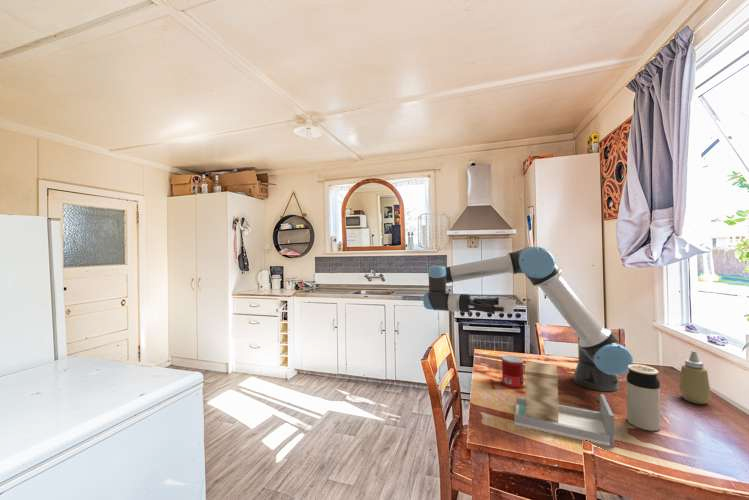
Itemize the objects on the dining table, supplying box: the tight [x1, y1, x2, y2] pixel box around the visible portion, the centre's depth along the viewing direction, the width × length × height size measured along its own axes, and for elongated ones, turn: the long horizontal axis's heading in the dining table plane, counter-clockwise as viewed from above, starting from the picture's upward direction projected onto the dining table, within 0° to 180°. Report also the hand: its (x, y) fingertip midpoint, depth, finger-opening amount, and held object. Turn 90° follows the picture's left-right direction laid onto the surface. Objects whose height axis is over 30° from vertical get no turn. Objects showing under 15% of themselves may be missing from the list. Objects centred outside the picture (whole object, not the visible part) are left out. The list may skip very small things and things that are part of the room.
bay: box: [513, 393, 615, 448], centre depth 100 cm, size 26×14×9 cm, turn 63°
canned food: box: [501, 354, 524, 389], centre depth 128 cm, size 8×8×11 cm
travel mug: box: [626, 363, 661, 432], centre depth 98 cm, size 8×8×18 cm
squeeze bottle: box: [678, 350, 711, 405], centre depth 113 cm, size 8×8×18 cm
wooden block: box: [524, 360, 560, 423], centre depth 102 cm, size 9×9×16 cm
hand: (514, 306), depth 121 cm, fingers open, 13 cm apart
